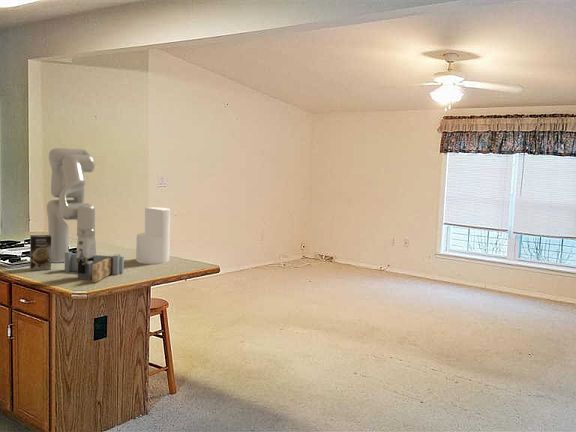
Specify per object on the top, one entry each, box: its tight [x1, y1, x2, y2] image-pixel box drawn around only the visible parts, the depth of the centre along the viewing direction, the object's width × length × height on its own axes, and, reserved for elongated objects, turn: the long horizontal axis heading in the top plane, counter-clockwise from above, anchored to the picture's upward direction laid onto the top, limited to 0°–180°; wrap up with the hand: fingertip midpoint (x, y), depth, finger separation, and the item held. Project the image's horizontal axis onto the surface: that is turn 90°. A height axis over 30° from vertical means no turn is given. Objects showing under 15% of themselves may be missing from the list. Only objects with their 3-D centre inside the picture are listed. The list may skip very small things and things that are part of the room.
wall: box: [64, 251, 125, 276], centre depth 262 cm, size 28×4×9 cm, turn 85°
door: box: [91, 255, 113, 283], centre depth 251 cm, size 20×2×8 cm, turn 177°
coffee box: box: [29, 234, 52, 271], centre depth 264 cm, size 9×6×16 cm
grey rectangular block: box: [77, 261, 94, 280], centre depth 250 cm, size 5×5×8 cm
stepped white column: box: [135, 206, 171, 265], centre depth 295 cm, size 17×17×28 cm
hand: (85, 271), depth 250 cm, fingers open, 7 cm apart
